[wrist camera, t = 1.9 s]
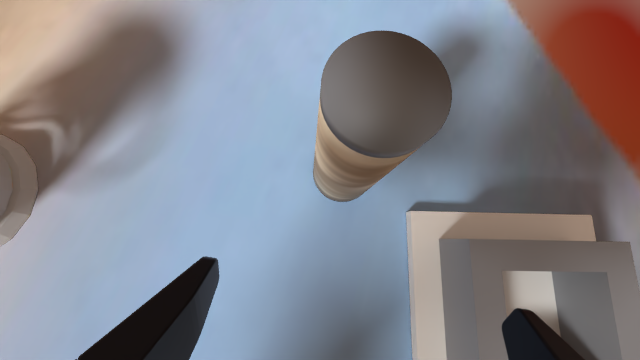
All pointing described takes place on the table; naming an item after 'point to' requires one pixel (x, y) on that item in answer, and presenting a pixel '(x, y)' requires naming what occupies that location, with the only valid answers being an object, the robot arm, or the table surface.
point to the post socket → (518, 284)
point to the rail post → (376, 110)
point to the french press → (15, 187)
